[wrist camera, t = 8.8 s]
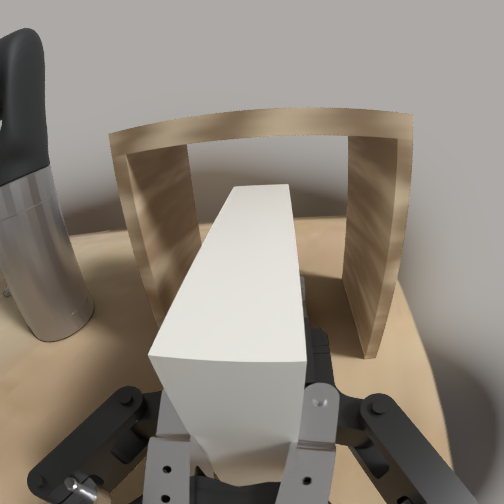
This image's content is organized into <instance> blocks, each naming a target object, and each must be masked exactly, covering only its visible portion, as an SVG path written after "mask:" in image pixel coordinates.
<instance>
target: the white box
mask: <svg viewBox="0 0 504 504" xmlns="http://www.w3.org/2000/svg"><path fill="white" fill-rule="evenodd" d="M148 357H149V359H150V361H151V363H152V365H153V367H154V369H155V371H156V373H157V375H158V377H159V379H160V381H161V383H162V385H163V387H164V389H165V391H166V393H167V395H168V397H169V399H170V401H171V403H172V404H173V406H174V408H175V410H176V412H177V413H178V415H179V417H180V419H181V420H182V422H183V424H184V426H185V427H186V429H187V431H188V432H189V434H190V436H194V437H195V438H196V440H197V442H198V443H199V446H200V449H201V451H202V452H203V454H204V455H205V457H206V458H208V459H209V461H210V463H211V464H212V468H213V471H214V472H215V474H216V475H217V477H218V478H219V479H220V481H221V482H224V483H227V484H230V485H234V486H246V485H253V484H259V483H264V482H281V480H282V477H283V473H284V469H285V465H286V461H287V456H288V452H289V448H290V444H291V442H298V437H299V429H300V421H301V413H302V405H303V396H304V386H305V376H306V365H307V356H306V342H305V330H304V318H303V306H302V296H301V285H300V275H299V266H298V257H297V248H296V239H295V231H294V223H293V216H292V208H291V200H290V193H289V185H288V184H281V185H258V186H240V187H234V188H233V190H232V191H231V193H230V195H229V197H228V198H227V200H226V202H225V204H224V205H223V207H222V209H221V211H220V213H219V215H218V217H217V218H216V220H215V222H214V224H213V226H212V227H211V229H210V231H209V233H208V235H207V237H206V239H205V240H204V242H203V244H202V246H201V248H200V250H199V252H198V254H197V256H196V258H195V260H194V261H193V263H192V265H191V267H190V269H189V271H188V273H187V275H186V277H185V279H184V281H183V283H182V285H181V287H180V289H179V291H178V293H177V295H176V297H175V299H174V301H173V303H172V305H171V307H170V309H169V311H168V313H167V315H166V317H165V319H164V321H163V324H162V326H161V328H160V330H159V332H158V334H157V336H156V338H155V340H154V343H153V345H152V347H151V349H150V351H149V353H148Z"/></svg>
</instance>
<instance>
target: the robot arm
mask: <svg viewBox="0 0 504 504" xmlns="http://www.w3.org/2000/svg"><path fill="white" fill-rule="evenodd" d="M0 120H2V126H1V130H0V271H1V273H2V275H3V278H4V280H5V282H6V284H7V287H8V289H9V291H10V293H11V295H12V297H13V299H14V301H15V303H16V305H17V307H18V309H19V311H20V313H21V314H22V316H23V318H24V320H25V322H26V324H27V325H28V327H29V328H31V329H32V331H33V333H34V335H35V336H36V337H37V338H38V339H40V340H43V341H57V340H60V339H63V338H66V337H68V336H70V335H72V334H73V333H75V332H76V331H78V330H79V329H80V328H81V327H83V326H84V325H85V324H86V322H87V321H88V320H89V319H90V317H91V315H92V313H93V310H94V304H93V301H92V298H91V296H90V293H89V291H88V289H87V286H86V284H85V281H84V279H83V276H82V273H81V270H80V268H79V265H78V262H77V259H76V257H75V254H74V251H73V248H72V245H71V242H70V239H69V236H68V233H67V229H66V226H65V223H64V220H63V216H62V212H61V208H60V205H59V201H58V197H57V193H56V189H55V185H54V180H53V176H52V171H51V166H50V165H49V164H50V161H49V155H48V136H47V125H46V115H45V63H44V51H43V46H42V42H41V40H40V37H39V35H38V34H37V33H36V32H35V31H34V30H32V29H29V28H23V29H20V30H17V31H15V32H13V33H11V34H9V35H7V36H5V37H3V38H1V39H0ZM303 318H304V330H305V342H306V356H307V365H306V376H305V386H304V396H303V405H302V413H301V421H300V429H299V437H298V442H291V444H290V448H289V452H288V456H287V461H286V465H285V469H284V473H283V477H282V480H281V482H264V483H259V484H253V485H246V486H234V485H230V484H227V483H224V482H221V481H219V480H216V479H214V474H213V468H212V464H211V463H210V461H209V459H208V458H206V457H205V455H204V454H203V452H202V451H201V449H200V446H199V443H198V442H197V440H196V438H195V437H194V436H190V434H189V432H188V431H187V429H186V427H185V426H184V424H183V422H182V420H181V419H180V417H179V415H178V413H177V412H176V410H175V408H174V406H173V404H172V403H171V401H170V399H169V397H168V395H167V393H166V391H165V389H163V390H162V391H159V392H153V393H145V394H142V393H141V391H140V390H139V389H137V388H136V387H132V386H126V387H122V388H120V389H118V390H117V391H116V392H115V393H114V394H113V395H112V396H110V397H109V398H108V399H107V400H106V401H105V402H104V403H103V404H102V405H101V406H100V407H99V408H98V409H97V410H96V411H94V412H93V413H92V414H91V415H90V416H89V417H88V418H87V419H86V420H85V421H84V422H83V423H82V424H81V425H79V426H78V427H77V428H76V429H75V430H74V431H73V432H72V433H71V434H70V435H69V436H68V437H67V438H65V439H64V440H63V441H62V442H61V443H60V444H59V445H58V446H57V447H56V448H55V449H54V450H52V451H51V452H50V453H49V454H48V455H47V456H46V457H45V458H44V459H43V460H42V461H41V462H39V463H38V464H37V465H36V466H35V467H34V468H33V469H32V470H31V471H30V472H29V474H28V477H27V484H28V487H29V489H30V491H31V492H32V493H33V494H34V495H36V496H37V497H39V498H41V499H43V500H45V501H46V502H48V503H49V504H112V502H111V496H110V494H109V493H110V492H111V491H112V490H113V489H114V488H115V487H116V486H117V485H118V484H119V483H120V482H121V481H122V480H123V479H124V478H125V477H126V476H127V475H128V474H129V473H130V472H131V471H132V470H133V469H134V468H135V467H136V465H137V464H138V463H139V462H140V461H141V460H142V459H143V458H144V457H145V456H146V455H147V460H146V469H145V479H144V490H143V495H141V496H140V497H138V498H137V499H135V500H134V501H132V502H131V503H129V504H331V503H330V502H329V501H328V499H329V494H330V488H331V482H332V476H333V470H334V463H335V455H336V446H335V444H340V445H345V446H348V447H349V449H350V450H351V452H352V453H353V455H354V456H355V458H356V459H357V461H358V462H359V464H360V465H361V467H362V468H363V470H364V471H365V473H366V474H367V476H368V477H369V479H370V480H371V481H372V483H373V484H374V486H375V487H376V489H377V490H378V492H379V493H380V494H381V496H382V497H383V499H384V500H385V502H386V503H387V504H478V503H477V501H476V499H475V498H474V497H473V495H472V494H471V493H470V492H469V490H468V489H467V488H466V487H465V486H464V484H463V483H462V482H461V481H460V479H459V478H458V477H457V476H456V474H455V473H454V472H453V471H452V470H451V468H450V467H449V466H448V465H447V463H446V462H445V461H444V460H443V459H442V457H441V456H440V455H439V454H438V453H437V451H436V450H435V449H434V448H433V447H432V445H431V444H430V443H429V442H428V440H427V439H426V438H425V437H424V436H423V434H422V433H421V432H420V431H419V430H418V428H417V427H416V426H415V425H414V424H413V423H412V421H411V420H410V419H409V418H408V417H407V415H406V414H405V413H404V412H403V411H402V409H401V408H400V407H399V406H398V405H397V403H396V402H395V401H394V400H393V399H392V398H391V397H389V396H388V395H385V394H381V393H377V394H372V395H369V396H368V397H366V398H365V399H358V398H353V397H349V396H346V395H344V394H342V393H341V392H340V391H339V390H338V389H337V387H336V386H335V383H334V376H333V369H332V362H331V355H330V349H329V342H328V336H327V334H326V333H325V332H324V330H323V329H322V328H311V327H310V318H309V316H305V317H303Z"/></svg>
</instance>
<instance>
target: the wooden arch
mask: <svg viewBox="0 0 504 504" xmlns="http://www.w3.org/2000/svg"><path fill="white" fill-rule="evenodd" d="M296 135H342V136H348V200H347V221H346V238H345V251H344V263H343V274H342V282H343V285H344V288H345V291H346V295H347V298H348V301H349V304H350V308H351V311H352V315H353V318H354V321H355V325H356V328H357V332H358V336H359V339H360V343H361V347H362V350H363V354H364V358H365V359H368V358H376V355H377V352H378V349H379V346H380V343H381V339H382V336H383V332H384V329H385V325H386V321H387V318H388V314H389V310H390V306H391V302H392V298H393V294H394V289H395V285H396V280H397V275H398V270H399V265H400V260H401V254H402V248H403V242H404V236H405V229H406V222H407V214H408V206H409V196H410V186H411V172H412V153H413V152H412V151H413V115H412V114H406V113H398V112H389V111H377V110H366V109H349V108H275V109H257V110H244V111H233V112H224V113H215V114H207V115H200V116H193V117H186V118H180V119H174V120H169V121H164V122H158V123H153V124H148V125H143V126H139V127H134V128H130V129H126V130H122V131H118V132H114V133H110V134H109V141H110V147H111V153H112V159H113V164H114V170H115V176H116V181H117V185H118V191H119V195H120V200H121V204H122V209H123V213H124V217H125V221H126V225H127V229H128V233H129V237H130V241H131V245H132V248H133V252H134V255H135V259H136V262H137V266H138V269H139V272H140V276H141V279H142V282H143V285H144V288H145V292H146V295H147V298H148V301H149V304H150V307H151V309H152V312H153V315H154V318H155V321H156V324H157V326H158V329H159V330H160V328H161V326H162V324H163V321H164V319H165V317H166V315H167V313H168V311H169V309H170V307H171V305H172V303H173V301H174V299H175V297H176V295H177V293H178V291H179V289H180V287H181V285H182V283H183V281H184V279H185V277H186V275H187V273H188V271H189V269H190V267H191V265H192V263H193V261H194V260H195V258H196V256H197V254H198V252H199V250H200V248H201V246H202V244H201V238H200V232H199V226H198V220H197V214H196V208H195V202H194V195H193V188H192V181H191V174H190V167H189V159H188V152H187V144H192V143H200V142H207V141H217V140H227V139H239V138H252V137H269V136H296ZM300 285H301V296H302V306H303V317H305V316H308V315H307V306H306V300H305V282H304V276H300Z"/></svg>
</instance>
